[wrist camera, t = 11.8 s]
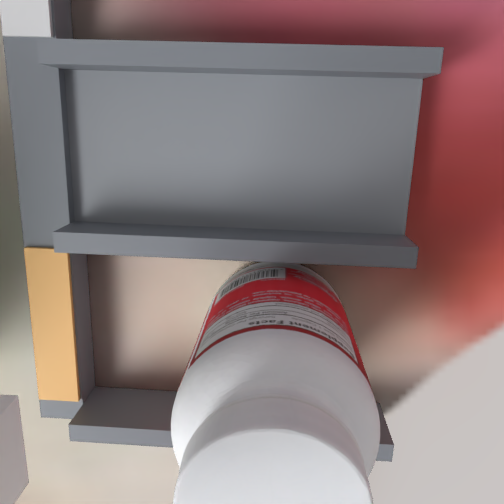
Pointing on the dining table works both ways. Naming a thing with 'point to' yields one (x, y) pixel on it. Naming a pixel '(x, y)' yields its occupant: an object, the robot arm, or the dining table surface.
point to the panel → (195, 176)
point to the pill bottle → (275, 397)
